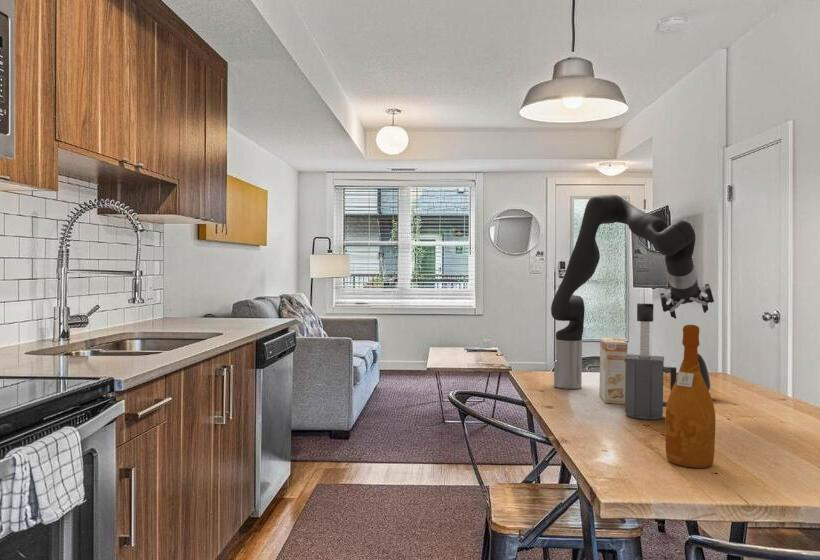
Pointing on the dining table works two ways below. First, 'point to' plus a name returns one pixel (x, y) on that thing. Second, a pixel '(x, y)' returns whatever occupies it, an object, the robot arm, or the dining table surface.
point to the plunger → (644, 326)
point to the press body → (645, 386)
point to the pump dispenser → (703, 371)
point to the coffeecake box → (612, 370)
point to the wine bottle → (690, 411)
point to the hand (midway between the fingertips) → (689, 313)
